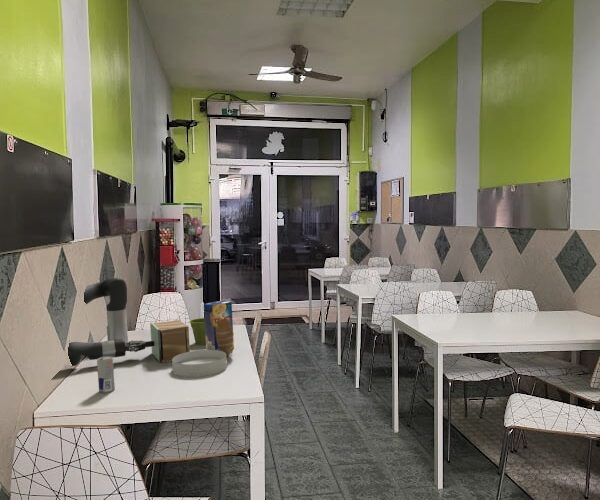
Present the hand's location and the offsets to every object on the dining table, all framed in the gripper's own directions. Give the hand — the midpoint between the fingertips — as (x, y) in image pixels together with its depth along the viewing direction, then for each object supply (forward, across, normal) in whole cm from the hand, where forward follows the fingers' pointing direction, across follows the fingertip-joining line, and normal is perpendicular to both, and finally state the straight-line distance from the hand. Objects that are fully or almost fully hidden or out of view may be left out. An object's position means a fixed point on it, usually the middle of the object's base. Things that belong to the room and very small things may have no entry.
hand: (154, 343), depth 228 cm
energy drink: (-24, +38, -7) cm, 45 cm away
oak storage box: (+7, +2, -6) cm, 10 cm away
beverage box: (+29, +6, -6) cm, 30 cm away
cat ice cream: (+28, +18, -6) cm, 33 cm away
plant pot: (+26, -14, -6) cm, 30 cm away
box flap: (+1, +2, -6) cm, 6 cm away
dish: (+13, +29, -7) cm, 33 cm away
